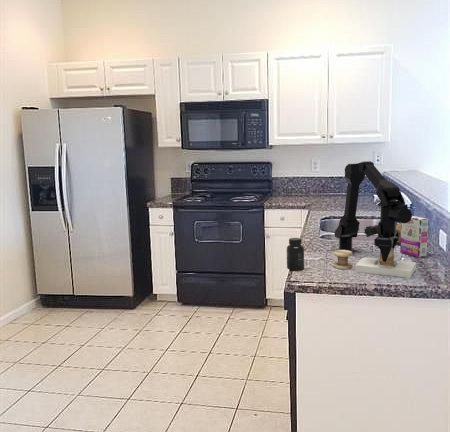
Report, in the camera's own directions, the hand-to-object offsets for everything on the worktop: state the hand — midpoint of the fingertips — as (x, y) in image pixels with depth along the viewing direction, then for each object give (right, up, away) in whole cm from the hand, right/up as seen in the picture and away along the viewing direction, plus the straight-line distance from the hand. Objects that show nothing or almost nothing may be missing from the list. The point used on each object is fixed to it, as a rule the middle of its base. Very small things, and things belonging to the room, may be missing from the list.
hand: (386, 258), depth 185 cm
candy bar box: (+19, 0, +21) cm, 28 cm away
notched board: (-1, -4, -1) cm, 4 cm away
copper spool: (0, -4, +1) cm, 4 cm away
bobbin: (-16, -4, +5) cm, 17 cm away
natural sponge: (+20, +3, +40) cm, 45 cm away
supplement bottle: (-35, -4, +4) cm, 35 cm away
